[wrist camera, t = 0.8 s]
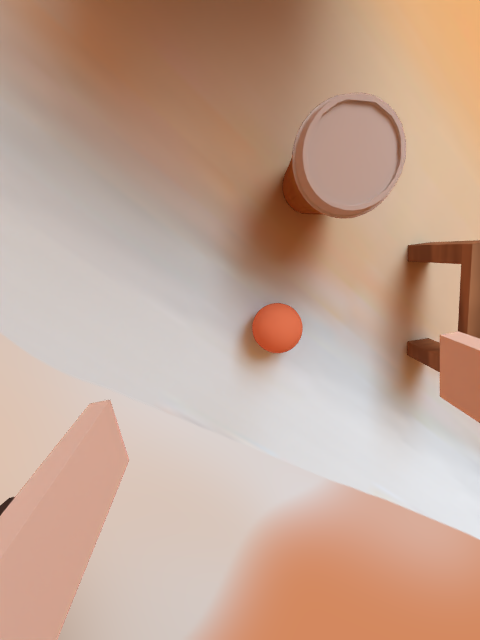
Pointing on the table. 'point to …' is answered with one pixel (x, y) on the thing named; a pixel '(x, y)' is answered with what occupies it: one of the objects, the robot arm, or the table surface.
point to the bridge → (475, 292)
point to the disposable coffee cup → (345, 157)
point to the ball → (277, 328)
